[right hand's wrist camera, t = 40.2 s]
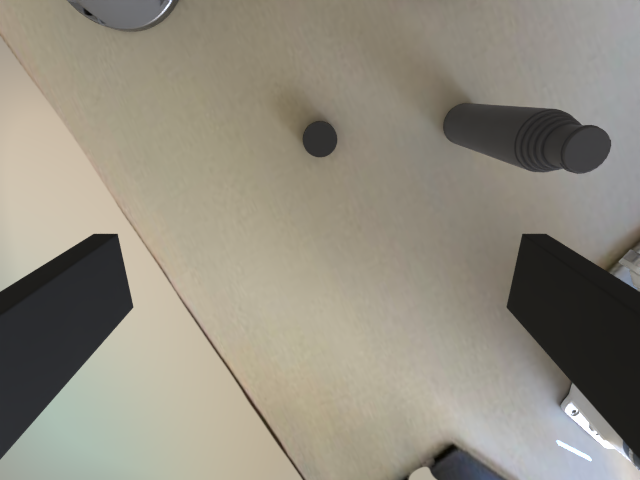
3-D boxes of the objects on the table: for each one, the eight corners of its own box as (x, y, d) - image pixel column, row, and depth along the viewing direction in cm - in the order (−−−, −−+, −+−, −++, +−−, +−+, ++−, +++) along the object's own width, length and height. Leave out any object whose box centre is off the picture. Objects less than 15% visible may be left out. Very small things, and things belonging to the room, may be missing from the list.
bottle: (447, 149, 51) (552, 194, 28) (440, 110, 49) (547, 125, 26) (485, 137, 50) (625, 174, 27) (479, 98, 48) (625, 101, 25)
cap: (342, 132, 50) (343, 133, 48) (325, 161, 51) (325, 163, 49) (314, 114, 49) (313, 115, 47) (297, 144, 50) (296, 145, 49)
